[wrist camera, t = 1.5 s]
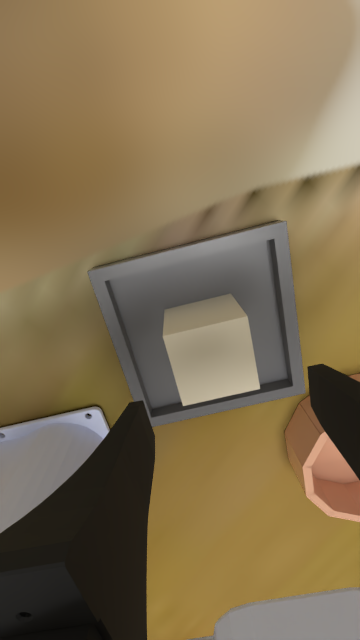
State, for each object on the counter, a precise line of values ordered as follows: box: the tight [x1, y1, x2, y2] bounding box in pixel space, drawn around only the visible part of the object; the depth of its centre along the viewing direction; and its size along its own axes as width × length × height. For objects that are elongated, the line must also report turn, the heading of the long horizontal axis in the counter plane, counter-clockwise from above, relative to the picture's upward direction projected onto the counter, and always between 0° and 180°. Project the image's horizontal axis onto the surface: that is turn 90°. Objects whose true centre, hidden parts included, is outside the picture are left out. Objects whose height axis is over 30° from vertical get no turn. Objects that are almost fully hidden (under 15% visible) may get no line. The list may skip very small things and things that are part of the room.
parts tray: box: [88, 220, 305, 427], centre depth 20 cm, size 12×12×2 cm
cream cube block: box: [163, 294, 260, 406], centre depth 18 cm, size 4×4×4 cm
